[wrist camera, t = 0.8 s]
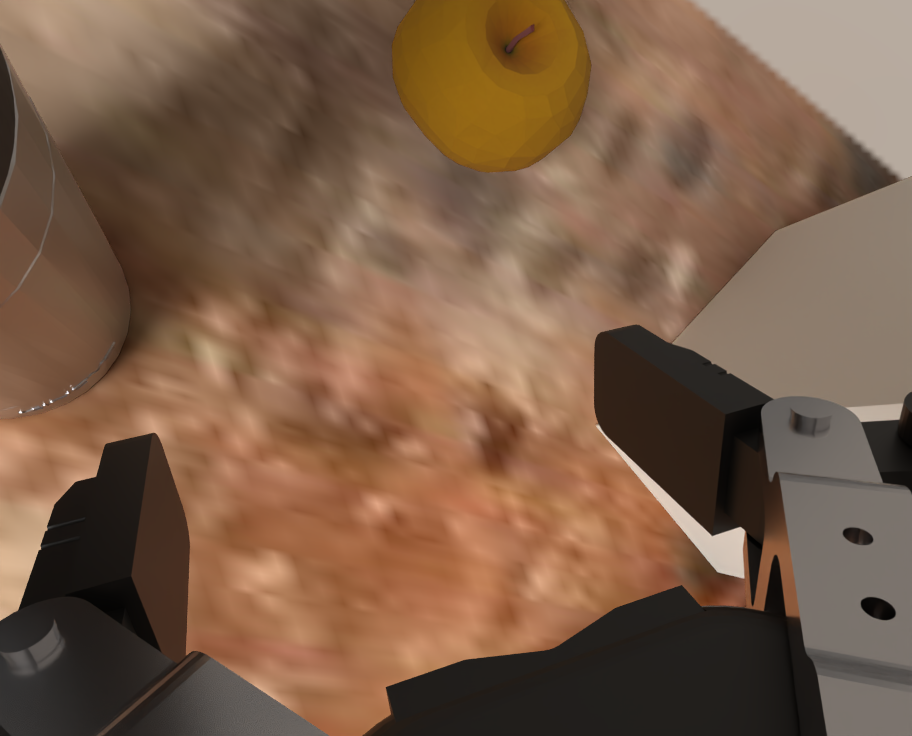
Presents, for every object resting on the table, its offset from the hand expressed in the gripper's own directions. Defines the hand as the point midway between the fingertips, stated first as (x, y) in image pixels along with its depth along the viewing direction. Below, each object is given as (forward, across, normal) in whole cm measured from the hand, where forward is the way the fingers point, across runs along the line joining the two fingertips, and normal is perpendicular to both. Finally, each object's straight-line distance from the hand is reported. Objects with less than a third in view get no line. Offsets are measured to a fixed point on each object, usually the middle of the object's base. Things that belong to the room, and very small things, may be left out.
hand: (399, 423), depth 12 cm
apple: (+25, -10, -2) cm, 27 cm away
